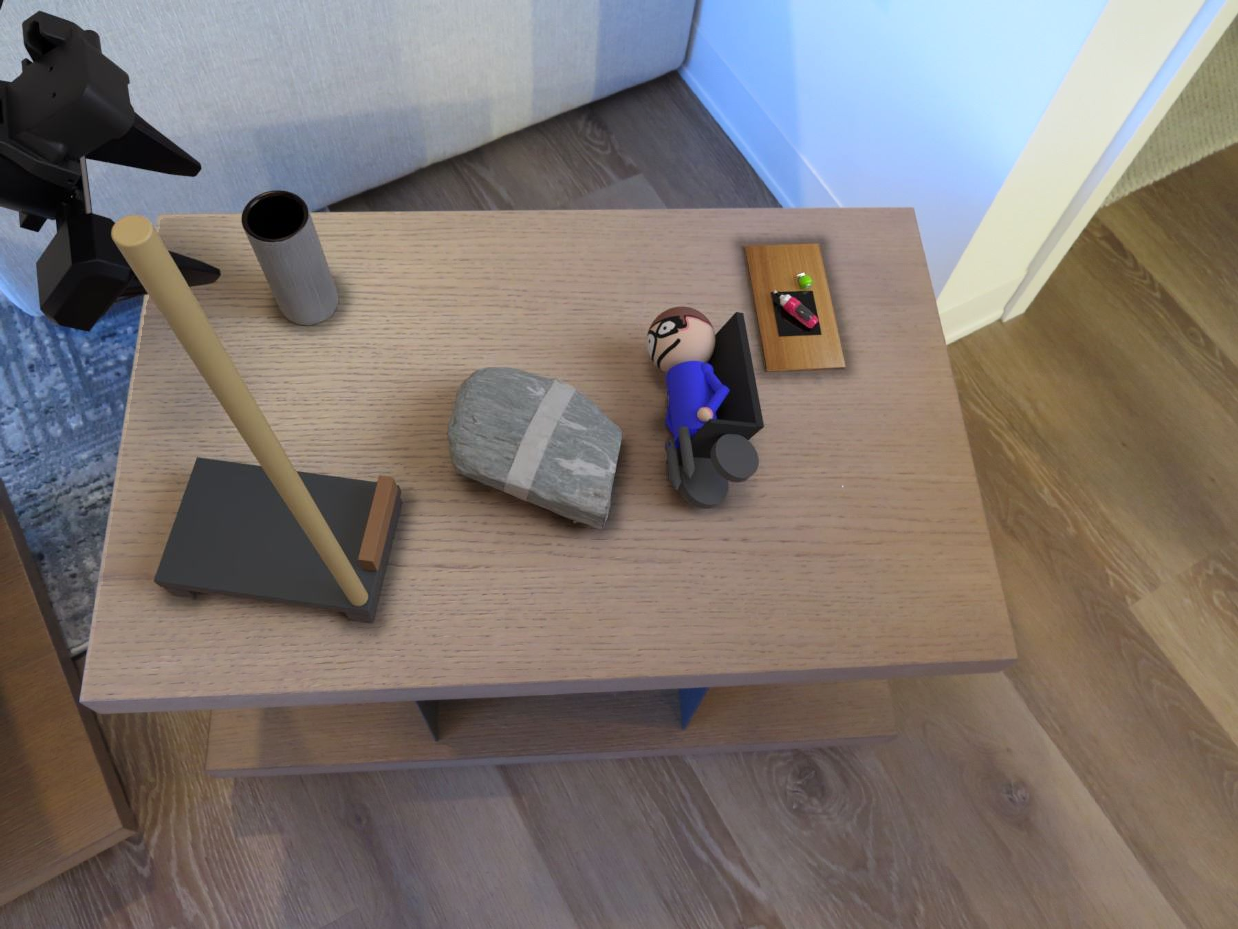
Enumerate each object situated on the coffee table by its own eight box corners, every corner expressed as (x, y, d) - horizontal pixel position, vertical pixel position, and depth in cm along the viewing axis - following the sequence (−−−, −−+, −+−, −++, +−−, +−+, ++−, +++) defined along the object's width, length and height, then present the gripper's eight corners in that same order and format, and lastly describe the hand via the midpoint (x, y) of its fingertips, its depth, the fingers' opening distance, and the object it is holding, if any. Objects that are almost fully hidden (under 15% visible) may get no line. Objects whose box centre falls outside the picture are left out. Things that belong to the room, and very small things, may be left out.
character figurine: (661, 520, 69) (643, 344, 75) (761, 512, 69) (734, 337, 76) (664, 475, 62) (644, 285, 68) (775, 466, 62) (745, 277, 69)
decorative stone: (430, 486, 69) (420, 450, 63) (483, 372, 73) (477, 328, 68) (602, 544, 68) (606, 511, 62) (645, 424, 72) (652, 384, 67)
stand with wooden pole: (169, 595, 64) (-324, 188, 28) (210, 474, 68) (-177, -20, 32) (376, 623, 64) (149, 254, 28) (405, 501, 68) (238, 39, 32)
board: (818, 245, 80) (822, 233, 79) (844, 368, 75) (850, 358, 74) (745, 247, 80) (748, 235, 78) (767, 371, 75) (770, 361, 73)
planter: (347, 284, 76) (318, 196, 66) (327, 331, 74) (295, 247, 64) (291, 272, 76) (255, 183, 66) (271, 319, 74) (230, 234, 64)
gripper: (-1, 166, 44) (297, 261, 56) (-21, -93, 52) (248, 40, 64) (-82, 302, 50) (205, 361, 62) (-89, 52, 57) (169, 148, 69)
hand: (208, 222), depth 64 cm, fingers open, 9 cm apart
